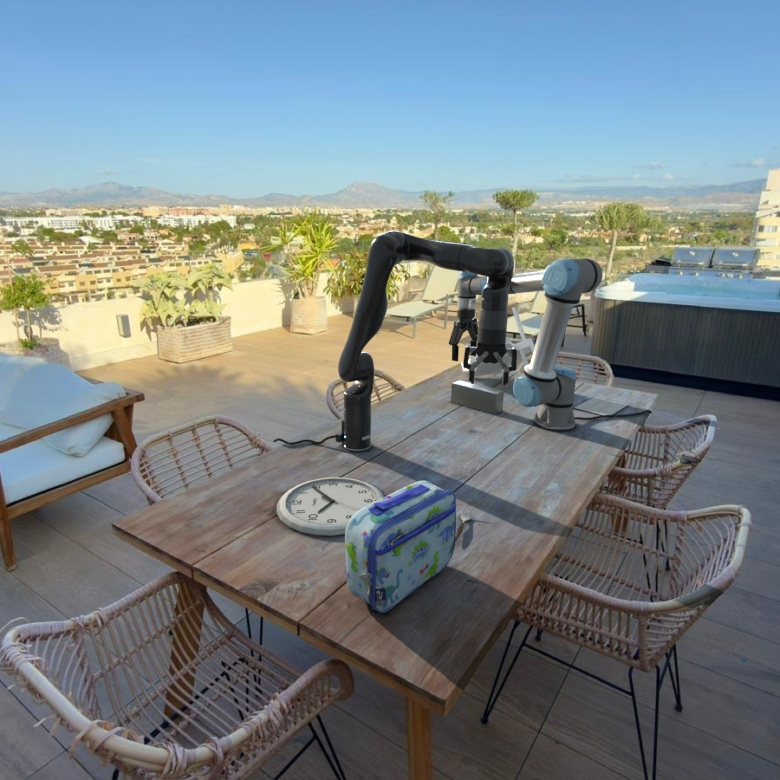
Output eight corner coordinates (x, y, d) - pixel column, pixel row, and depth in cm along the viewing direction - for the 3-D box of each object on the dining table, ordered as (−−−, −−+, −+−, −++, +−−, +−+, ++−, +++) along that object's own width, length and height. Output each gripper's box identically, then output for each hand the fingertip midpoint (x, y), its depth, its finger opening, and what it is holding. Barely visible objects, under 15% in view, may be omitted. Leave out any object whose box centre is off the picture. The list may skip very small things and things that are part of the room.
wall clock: (392, 527, 129) (268, 531, 127) (391, 533, 130) (269, 537, 127) (383, 473, 158) (282, 475, 155) (383, 478, 158) (282, 480, 156)
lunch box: (374, 626, 100) (375, 530, 93) (338, 598, 107) (337, 508, 101) (459, 568, 117) (465, 484, 111) (424, 547, 124) (427, 467, 118)
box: (450, 402, 229) (451, 383, 226) (458, 399, 233) (459, 380, 230) (495, 414, 215) (496, 394, 212) (502, 410, 219) (503, 390, 216)
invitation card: (608, 416, 214) (573, 407, 224) (608, 416, 214) (573, 408, 224) (628, 404, 229) (594, 396, 238) (628, 405, 229) (594, 397, 238)
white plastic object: (482, 418, 266) (461, 395, 241) (463, 346, 288) (443, 318, 264) (553, 394, 254) (538, 368, 229) (528, 321, 276) (512, 289, 251)
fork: (449, 542, 127) (449, 535, 126) (463, 510, 141) (464, 504, 140) (459, 544, 126) (460, 537, 125) (473, 512, 140) (473, 506, 139)
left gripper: (465, 327, 137) (462, 386, 141) (521, 329, 135) (515, 389, 140) (465, 322, 144) (461, 379, 149) (518, 324, 142) (512, 381, 147)
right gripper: (456, 312, 205) (454, 364, 211) (490, 306, 223) (487, 354, 229) (441, 310, 210) (439, 361, 216) (475, 304, 228) (472, 352, 234)
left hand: (488, 384), depth 144 cm, fingers open, 8 cm apart
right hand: (464, 358), depth 223 cm, fingers open, 13 cm apart
